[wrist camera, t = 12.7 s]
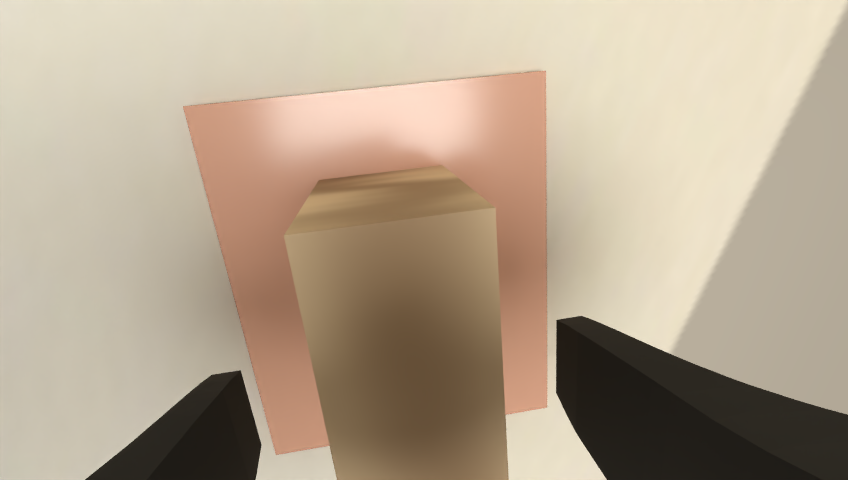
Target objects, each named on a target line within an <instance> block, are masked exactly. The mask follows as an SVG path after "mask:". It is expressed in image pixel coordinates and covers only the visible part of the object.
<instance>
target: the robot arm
mask: <svg viewBox="0 0 848 480" xmlns="http://www.w3.org/2000/svg"><path fill="white" fill-rule="evenodd" d="M556 393H557V395H558V397H559V399H560V401H561V404H562V406H563V408H564V410H565V412H566V414H567V416H568V418H569V420H570V422H571V424H572V426H573V428H574V430H575V431H576V433H577V435H578V436H579V438H580V439H581V441H582V442H583V444H584V446H585V447H586V449H587V450H588V452H589V453H590V455H591V456H592V458H593V459H594V461H595V462H596V464H597V465H598V467H599V468H600V470H601V471H602V473H603V474H604V476H605V477H606V479H607V480H848V415H847V414H843V413H839V412H836V411H832V410H828V409H824V408H821V407H818V406H814V405H811V404H807V403H804V402H801V401H797V400H794V399H791V398H788V397H784V396H782V395H779V394H776V393H773V392H769V391H766V390H763V389H760V388H757V387H754V386H751V385H748V384H745V383H743V382H740V381H737V380H734V379H731V378H729V377H726V376H723V375H721V374H718V373H716V372H713V371H711V370H708V369H706V368H703V367H700V366H698V365H695V364H693V363H690V362H688V361H686V360H683V359H681V358H678V357H676V356H674V355H671V354H669V353H667V352H664V351H662V350H660V349H657V348H655V347H653V346H651V345H648V344H646V343H644V342H642V341H639V340H637V339H635V338H633V337H630V336H628V335H626V334H624V333H621V332H619V331H617V330H615V329H613V328H610V327H608V326H606V325H603V324H601V323H599V322H596V321H594V320H591V319H589V318H586V317H583V316H578V317H572V318H566V319H560V320H557V345H556ZM260 450H261V442H260V438H259V435H258V431H257V428H256V424H255V420H254V417H253V413H252V410H251V406H250V403H249V399H248V395H247V392H246V388H245V385H244V381H243V377H242V374H241V370H240V371H234V372H228V373H221V374H215V375H211V376H210V377H208V378H207V379H206V380H204V381H203V382H202V383H200V384H199V385H198V386H197V387H196V388H194V389H193V390H192V391H191V392H190V393H188V394H187V395H186V396H185V397H184V398H183V399H181V400H180V401H179V402H178V403H177V404H176V405H174V406H173V407H172V408H171V409H170V410H169V411H168V412H166V413H165V414H164V415H163V416H162V417H161V418H159V419H158V420H157V421H156V422H155V423H154V424H152V425H151V426H150V427H149V428H148V429H147V430H145V431H144V432H143V433H142V434H141V435H140V436H138V437H137V438H136V439H135V440H134V441H133V442H131V443H130V444H129V445H128V446H127V447H125V448H124V449H123V450H122V451H120V452H119V453H118V454H117V455H115V456H114V457H113V458H112V459H110V460H109V461H108V462H107V463H105V464H104V465H103V466H102V467H100V468H99V469H98V470H97V471H95V472H94V473H93V474H92V475H91V476H89V477H88V478H87V479H86V480H255V479H256V474H257V468H258V462H259V456H260Z"/></svg>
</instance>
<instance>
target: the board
mask: <svg viewBox="0 0 848 480" xmlns="http://www.w3.org/2000/svg"><path fill="white" fill-rule="evenodd" d="M183 108H184V112H185V116H186V120H187V123H188V127H189V131H190V135H191V138H192V142H193V146H194V150H195V153H196V157H197V161H198V164H199V168H200V172H201V176H202V179H203V183H204V187H205V191H206V194H207V198H208V202H209V206H210V209H211V213H212V217H213V221H214V224H215V228H216V232H217V236H218V239H219V243H220V247H221V251H222V254H223V258H224V262H225V266H226V269H227V273H228V277H229V281H230V284H231V288H232V292H233V295H234V299H235V303H236V307H237V310H238V314H239V318H240V322H241V325H242V329H243V333H244V337H245V340H246V344H247V348H248V352H249V355H250V359H251V363H252V367H253V370H254V374H255V378H256V382H257V385H258V389H259V393H260V397H261V400H262V404H263V408H264V412H265V415H266V419H267V423H268V426H269V430H270V434H271V438H272V441H273V445H274V449H275V453H276V455H278V454H284V453H290V452H295V451H301V450H307V449H313V448H318V447H324V446H330V445H329V440H328V436H327V431H326V426H325V422H324V417H323V413H322V408H321V404H320V399H319V394H318V390H317V385H316V381H315V376H314V372H313V367H312V362H311V358H310V353H309V349H308V344H307V340H306V335H305V330H304V326H303V321H302V317H301V312H300V308H299V303H298V298H297V294H296V289H295V285H294V280H293V276H292V271H291V266H290V262H289V257H288V253H287V248H286V243H285V239H284V235H285V233H286V231H287V230H288V228H289V227H290V225H291V223H292V222H293V220H294V219H295V217H296V216H297V214H298V212H299V211H300V209H301V208H302V206H303V204H304V203H305V201H306V200H307V198H308V197H309V195H310V193H311V192H312V190H313V189H314V187H315V185H316V184H317V182H318V181H319V180H323V179H331V178H340V177H348V176H356V175H364V174H372V173H381V172H389V171H397V170H405V169H414V168H422V167H430V166H438V165H443V166H444V167H446V168H447V169H448V170H449V171H451V172H452V173H453V174H454V175H455V176H457V177H458V178H459V179H460V180H462V181H463V182H464V183H465V184H467V185H468V186H469V187H470V188H472V189H473V190H474V191H475V192H477V193H478V194H479V195H480V196H482V197H483V198H484V199H485V200H487V201H488V202H489V203H490V204H492V205H493V206H494V207H495V210H496V231H497V252H498V273H499V293H500V314H501V335H502V356H503V377H504V398H505V415H506V414H512V413H518V412H524V411H529V410H535V409H541V408H546V407H547V253H546V71H537V72H527V73H517V74H507V75H497V76H487V77H477V78H467V79H456V80H446V81H436V82H426V83H416V84H406V85H396V86H386V87H376V88H365V89H355V90H345V91H335V92H325V93H315V94H305V95H295V96H285V97H274V98H264V99H254V100H244V101H234V102H224V103H214V104H204V105H194V106H184V107H183Z"/></svg>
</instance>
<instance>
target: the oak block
mask: <svg viewBox="0 0 848 480" xmlns="http://www.w3.org/2000/svg"><path fill="white" fill-rule="evenodd" d="M284 239H285V243H286V248H287V253H288V257H289V262H290V266H291V271H292V276H293V280H294V285H295V289H296V294H297V298H298V303H299V308H300V312H301V317H302V321H303V326H304V330H305V335H306V340H307V344H308V349H309V353H310V358H311V362H312V367H313V372H314V376H315V381H316V385H317V390H318V394H319V399H320V404H321V408H322V413H323V417H324V422H325V426H326V431H327V436H328V440H329V445H330V449H331V454H332V459H333V463H334V468H335V472H336V477H337V480H508V460H507V439H506V418H505V398H504V377H503V356H502V335H501V314H500V293H499V273H498V252H497V231H496V210H495V207H494V206H493V205H492V204H490V203H489V202H488V201H487V200H485V199H484V198H483V197H482V196H480V195H479V194H478V193H477V192H475V191H474V190H473V189H472V188H470V187H469V186H468V185H467V184H465V183H464V182H463V181H462V180H460V179H459V178H458V177H457V176H455V175H454V174H453V173H452V172H451V171H449V170H448V169H447V168H446V167H444V166H443V165H438V166H430V167H422V168H414V169H405V170H397V171H389V172H381V173H372V174H364V175H356V176H348V177H340V178H331V179H323V180H319V181H318V182H317V184H316V185H315V187H314V189H313V190H312V192H311V193H310V195H309V197H308V198H307V200H306V201H305V203H304V204H303V206H302V208H301V209H300V211H299V212H298V214H297V216H296V217H295V219H294V220H293V222H292V223H291V225H290V227H289V228H288V230H287V231H286V233H285V235H284Z"/></svg>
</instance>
